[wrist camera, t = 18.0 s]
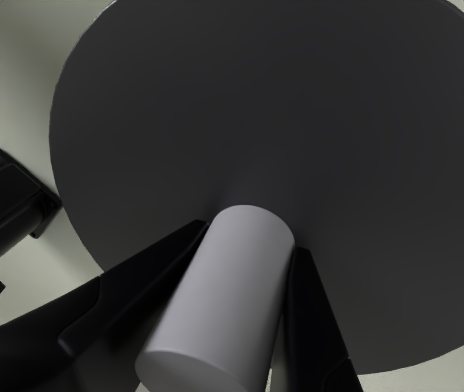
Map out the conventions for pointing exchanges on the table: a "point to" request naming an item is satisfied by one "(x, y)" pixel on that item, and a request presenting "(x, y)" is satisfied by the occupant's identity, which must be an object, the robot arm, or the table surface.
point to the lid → (273, 172)
